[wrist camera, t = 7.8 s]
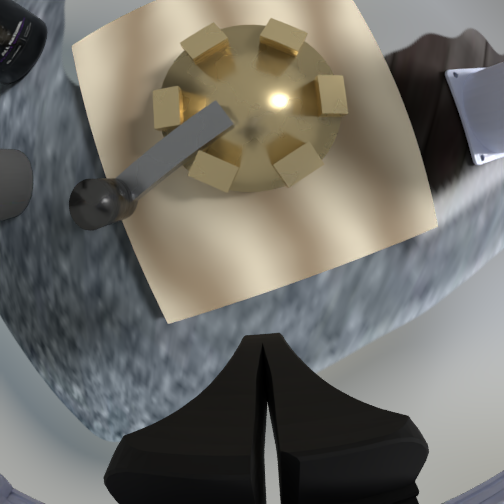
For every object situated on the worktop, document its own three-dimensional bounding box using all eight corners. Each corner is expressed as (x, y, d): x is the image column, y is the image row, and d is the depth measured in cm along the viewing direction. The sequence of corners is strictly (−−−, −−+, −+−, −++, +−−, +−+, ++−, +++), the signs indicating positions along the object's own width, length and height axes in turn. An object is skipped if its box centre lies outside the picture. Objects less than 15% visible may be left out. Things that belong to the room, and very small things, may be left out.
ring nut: (362, 134, 17) (403, 120, 11) (163, 270, 19) (133, 304, 13) (269, 15, 15) (275, -33, 10) (81, 150, 17) (31, 144, 12)
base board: (321, -31, 15) (325, -42, 13) (427, 223, 20) (439, 227, 18) (80, 51, 16) (70, 45, 15) (173, 314, 21) (167, 325, 20)
